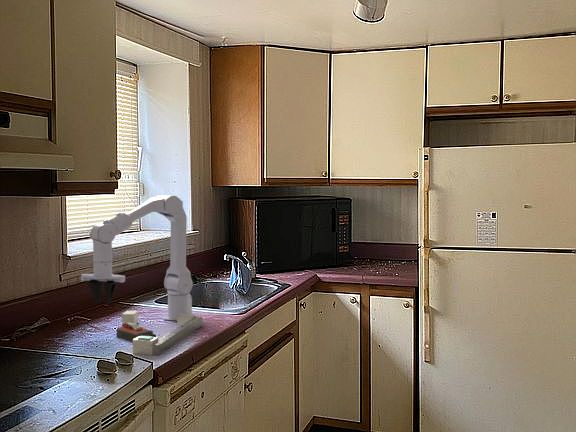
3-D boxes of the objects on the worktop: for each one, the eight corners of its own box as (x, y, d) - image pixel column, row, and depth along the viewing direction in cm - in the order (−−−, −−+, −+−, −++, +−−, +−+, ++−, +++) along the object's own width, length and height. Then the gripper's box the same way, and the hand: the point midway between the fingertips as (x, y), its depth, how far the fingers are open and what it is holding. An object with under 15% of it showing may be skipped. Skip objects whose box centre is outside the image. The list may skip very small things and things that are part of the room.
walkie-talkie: (162, 339, 191) (125, 328, 204) (162, 325, 191) (125, 315, 204) (138, 345, 184) (102, 333, 198) (138, 330, 184) (102, 319, 197)
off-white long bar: (179, 324, 208) (179, 311, 208) (201, 325, 207) (201, 312, 206) (132, 353, 174) (132, 338, 174) (159, 355, 173) (158, 340, 172)
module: (126, 322, 211) (126, 310, 211) (138, 322, 211) (138, 310, 210) (122, 325, 206) (122, 314, 206) (133, 326, 206) (133, 314, 206)
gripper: (75, 262, 193) (76, 304, 194) (117, 264, 190) (118, 307, 191) (87, 259, 200) (87, 300, 201) (128, 261, 197) (128, 302, 198)
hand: (103, 303), depth 196 cm, fingers open, 3 cm apart
